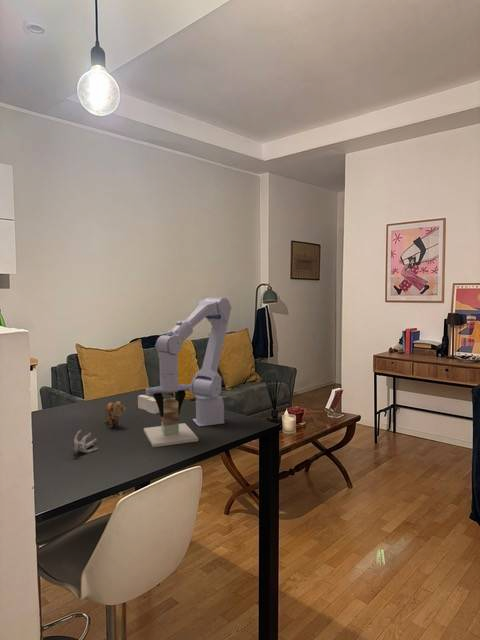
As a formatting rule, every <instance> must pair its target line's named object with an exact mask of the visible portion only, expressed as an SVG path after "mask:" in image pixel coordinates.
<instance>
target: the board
mask: <svg viewBox="0 0 480 640" xmlns="http://www.w3.org/2000/svg"><path fill="white" fill-rule="evenodd" d="M160 424H161V425H160V426H159V425H157V426H151V427H144V428H143V433H144V434H145V436H146V438H147V439H148V441H149V443H150V444H151V446H152V448H159V447H166V446H172V445H173V446H174V445H180V444H186V443H187V444H188V443H195V442H199V437H198V436H197V434H195V433H194V431H193V430H192V429H191V428H190V427H189V426H188V425H187V424H186V423H178V421H177V422H169V423H164V422H163V421H161V422H160Z"/></svg>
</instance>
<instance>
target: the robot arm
mask: <svg viewBox="0 0 480 640" xmlns="http://www.w3.org/2000/svg"><path fill="white" fill-rule="evenodd" d="M231 311H232V306H231V303H230V300H229V299H228V298H227V297H207V296H205V297H202V298H201V300H199V301H198V302H197V307H196V308H195V309H194V310H193V311H192V312H190V313H191V314H190V315H189V316H188V317H187V318H186V319H185V320H177V322H176V323H175V325H174V326H173V327H172V328H171V329H169V330H168V331H167V332H166V334H163V335H160V336H159V337H158V338H157V339H156V342H155V344H154V348H155V351H156V352H157V357H158V358H159V361H158V362H159V385H158V386H151V387H146V388H145V395H146V396H152V397H154V399H155V401H156V403H157V405H158V409H159V413H158V414H159V416H160V418H161V417H163V399H165V398H164V396H163V395H164V394H172V393H174V398H175V399H176V400H177V401H178V414H179V415H180V413H181V409H182V405H183V402H184V400H185V398H186V397H187V396H186V395H187V393H186V392H191V393H192V394H194V395H193V397H194V398H195V418H192V421H193V422H194V423H195V424H196V425H197V426H198V427H206V426H213V425H222V424H225V404H224V403H225V402H224V398H223V397H222V396H221V395H220V394H221V392H222V379H223V378H222V376H221V375H220V374H219V373H218V368H219V366H220V365H219V364H220V362H221V361H220V360H221V356H222V352H223V347H224V342H225V338H226V334H227V329H228V325H229V320H230V315H231ZM204 319H206V320H207V321H208V322H209V323H210V325H211V328H210V332H209V337H208V341H207V344H206V345H207V346H206V349H205V354H204V359H203V362H202V366H201V368H200V369H199V370H198V371H196V372H195V375H194V376H193V377H194V378H193V379H192V380H191V383H188V384H179V362H178V359H179V356H178V353H180V352H181V350H182V348H183V345H184V342H185V341H186V340H187V339H188V338H189V337H190V336H192V334H193V333H194V327H196V326H197V325H198V324H200V322H201V321H203V320H204Z"/></svg>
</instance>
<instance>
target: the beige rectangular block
mask: <svg viewBox="0 0 480 640" xmlns="http://www.w3.org/2000/svg"><path fill="white" fill-rule="evenodd" d="M137 408H138V409H140V410H145V411H146V412H147V413H150V414H153V415H156V414H160V413H159V409H158V405H157V403H156V401H155V398H154V397H153V396H151V395H149V396H147V395H146V394H140V395H137Z"/></svg>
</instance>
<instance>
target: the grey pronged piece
mask: <svg viewBox="0 0 480 640" xmlns="http://www.w3.org/2000/svg"><path fill="white" fill-rule="evenodd" d="M81 433H82V429H80V430H78V431H77V433H76V435H75V436H74V438H73V443H74V445H73V446H71V449H73V451H74V452H75V454H77V453H78V452H81V453H83V454H84V453H85V454H89V453H93V452H94V451H95V452H96V451H97V450H99V448H98V447H94V448H91V449H88V448H90V447H91V446H93V445H94V443H95V442H97V438H94V439H92V440H91V441H89V442H87V443H86V441H87V440H88V438H89V437H91V435H92V433H91V432H89V433H87V434H86V435H83V437H82V439H81V440H79V441H78V438H79V435H80V434H81Z"/></svg>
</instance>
